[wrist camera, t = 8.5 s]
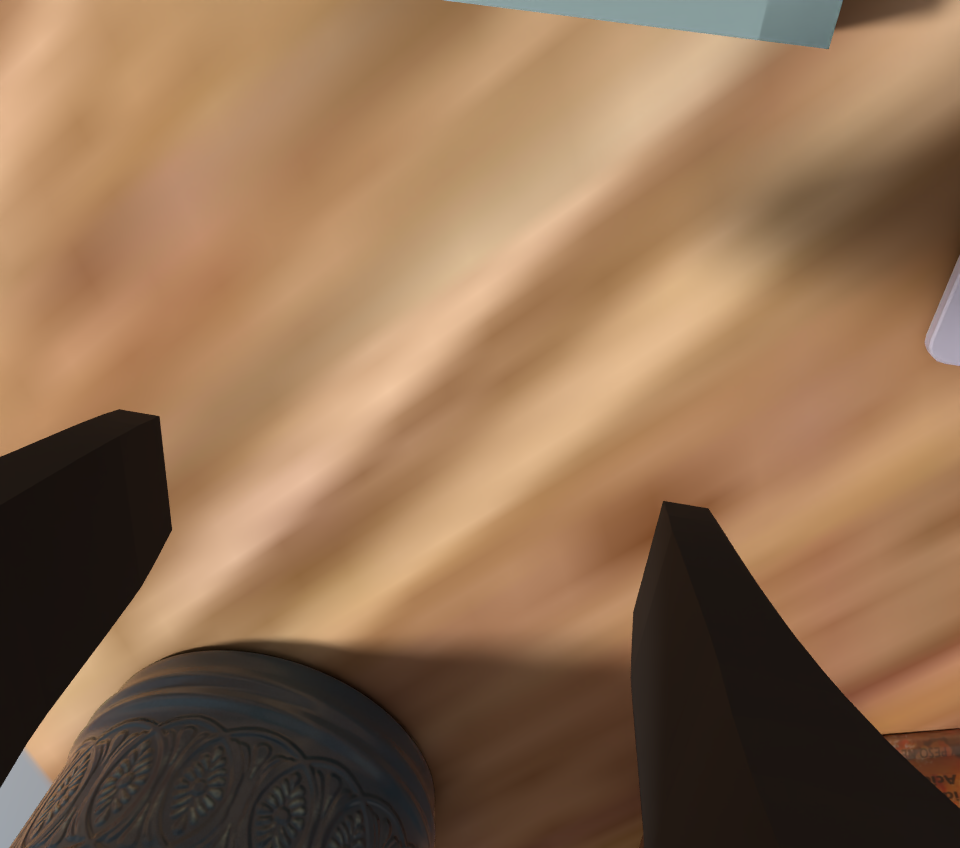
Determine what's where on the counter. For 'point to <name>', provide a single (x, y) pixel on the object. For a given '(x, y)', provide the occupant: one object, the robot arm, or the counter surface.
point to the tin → (930, 758)
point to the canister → (237, 764)
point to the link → (704, 16)
